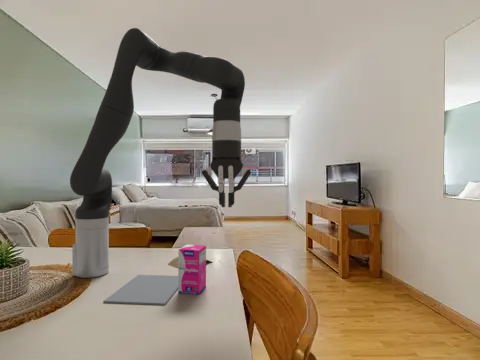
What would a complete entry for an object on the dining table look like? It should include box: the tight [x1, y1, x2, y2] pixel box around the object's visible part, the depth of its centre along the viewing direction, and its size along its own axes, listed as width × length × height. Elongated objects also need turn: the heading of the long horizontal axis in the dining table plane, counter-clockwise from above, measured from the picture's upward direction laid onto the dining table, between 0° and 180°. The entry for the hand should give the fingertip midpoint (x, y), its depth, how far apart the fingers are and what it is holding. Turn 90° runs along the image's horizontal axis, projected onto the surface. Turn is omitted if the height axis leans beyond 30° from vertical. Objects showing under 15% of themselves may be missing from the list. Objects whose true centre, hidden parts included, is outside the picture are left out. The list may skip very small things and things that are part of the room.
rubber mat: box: [102, 274, 178, 306], centre depth 83 cm, size 15×20×1 cm
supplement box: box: [177, 244, 207, 296], centre depth 82 cm, size 6×6×12 cm
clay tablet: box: [167, 255, 212, 269], centre depth 108 cm, size 14×10×3 cm
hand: (226, 206), depth 81 cm, fingers closed
